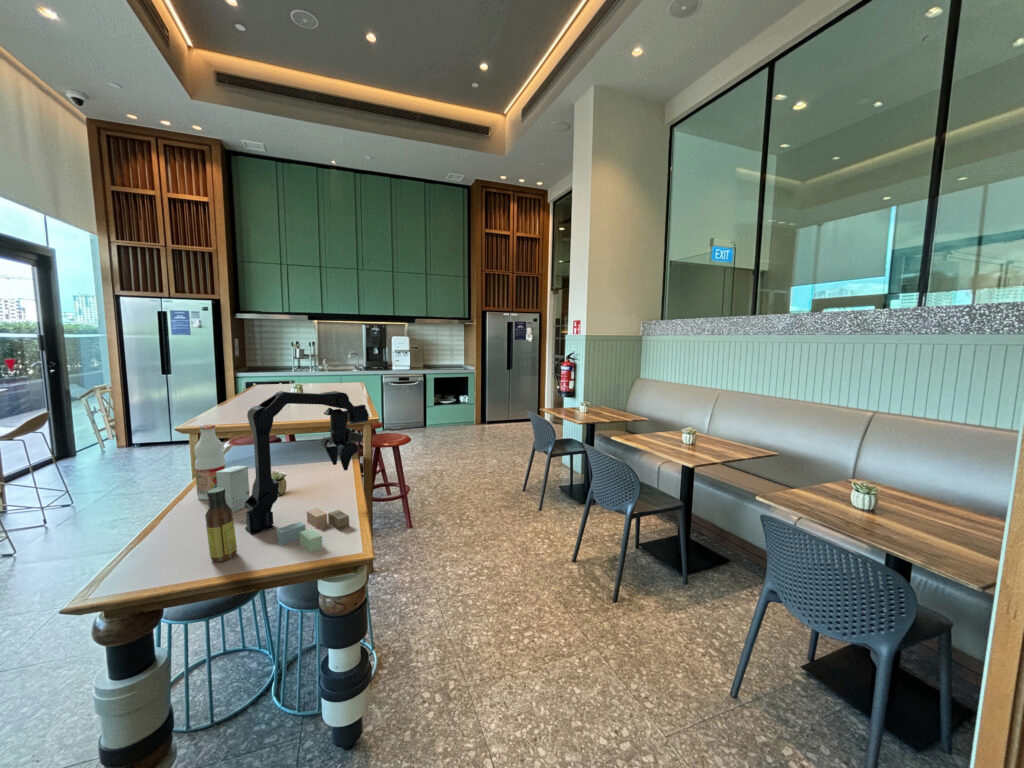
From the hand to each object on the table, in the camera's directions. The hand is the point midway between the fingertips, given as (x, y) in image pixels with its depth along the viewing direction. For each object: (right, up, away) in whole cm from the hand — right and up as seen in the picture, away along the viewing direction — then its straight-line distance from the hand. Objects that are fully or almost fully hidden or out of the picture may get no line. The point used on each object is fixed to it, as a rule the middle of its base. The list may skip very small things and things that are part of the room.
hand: (340, 467), depth 150 cm
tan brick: (-2, -16, -14) cm, 21 cm away
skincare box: (-38, -15, -2) cm, 40 cm away
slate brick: (-5, -17, -25) cm, 30 cm away
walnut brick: (+6, -16, -15) cm, 23 cm away
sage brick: (+4, -18, -29) cm, 34 cm away
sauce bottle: (-18, -18, -36) cm, 44 cm away
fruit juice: (-54, -13, +9) cm, 56 cm away
